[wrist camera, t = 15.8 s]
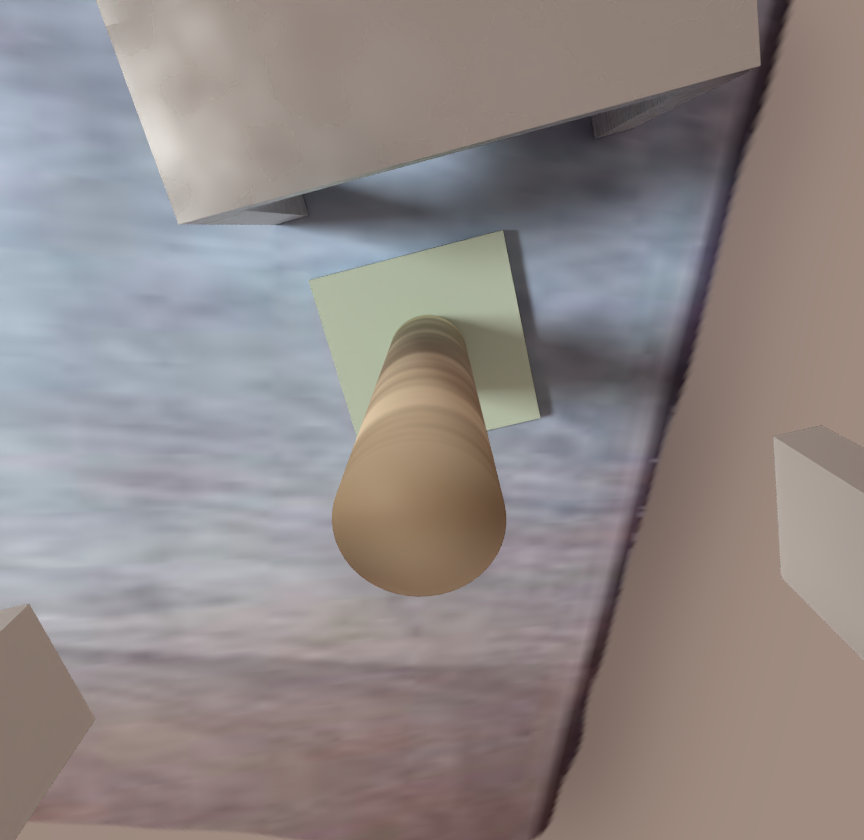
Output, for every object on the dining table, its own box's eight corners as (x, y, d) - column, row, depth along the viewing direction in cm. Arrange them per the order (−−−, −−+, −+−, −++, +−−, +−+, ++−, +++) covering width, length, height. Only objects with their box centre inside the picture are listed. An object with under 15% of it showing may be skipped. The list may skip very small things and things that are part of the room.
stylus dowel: (381, 325, 30) (309, 464, 13) (456, 306, 29) (485, 423, 12) (401, 397, 31) (360, 611, 14) (473, 380, 31) (521, 577, 14)
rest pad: (311, 279, 30) (308, 280, 29) (501, 230, 29) (502, 230, 28) (365, 453, 33) (363, 458, 32) (537, 413, 32) (540, 417, 31)
